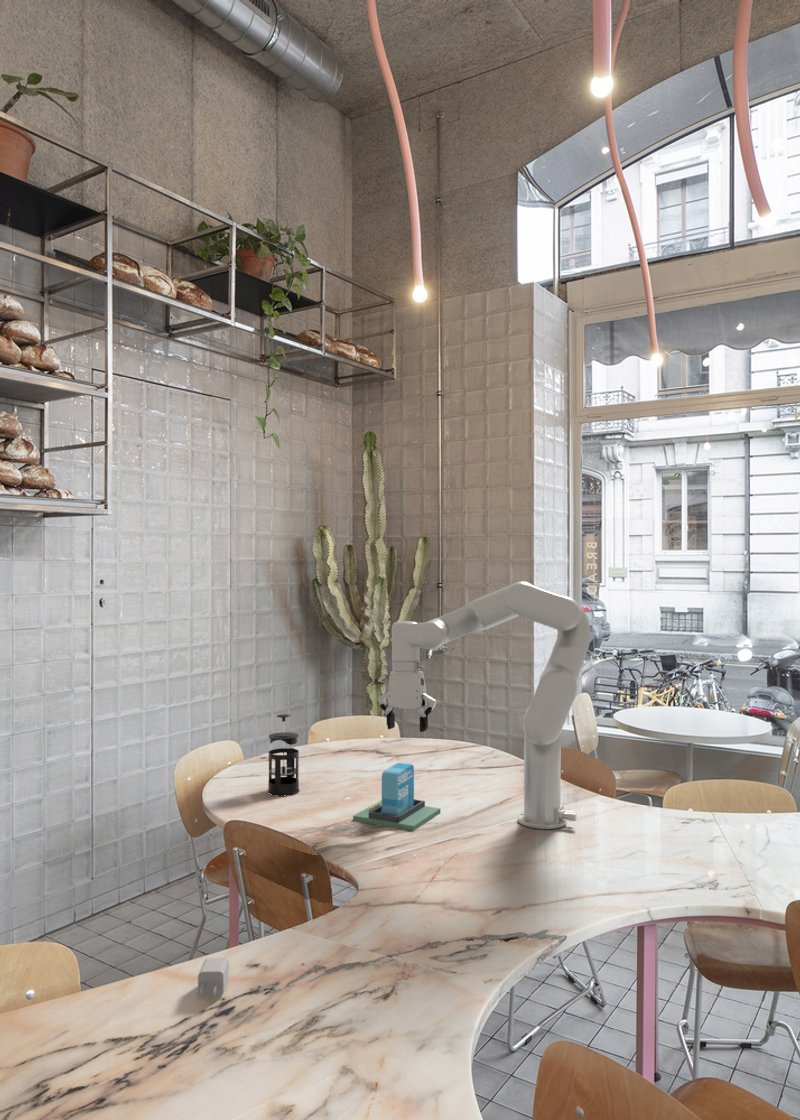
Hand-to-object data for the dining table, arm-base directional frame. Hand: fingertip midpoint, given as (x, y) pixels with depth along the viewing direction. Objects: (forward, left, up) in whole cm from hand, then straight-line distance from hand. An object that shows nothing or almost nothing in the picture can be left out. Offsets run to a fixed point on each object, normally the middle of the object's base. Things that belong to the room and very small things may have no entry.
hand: (407, 729), depth 216 cm
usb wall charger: (-13, +95, -23) cm, 99 cm away
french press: (+42, -2, -23) cm, 48 cm away
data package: (+1, +3, -22) cm, 22 cm away
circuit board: (+1, +3, -23) cm, 23 cm away
